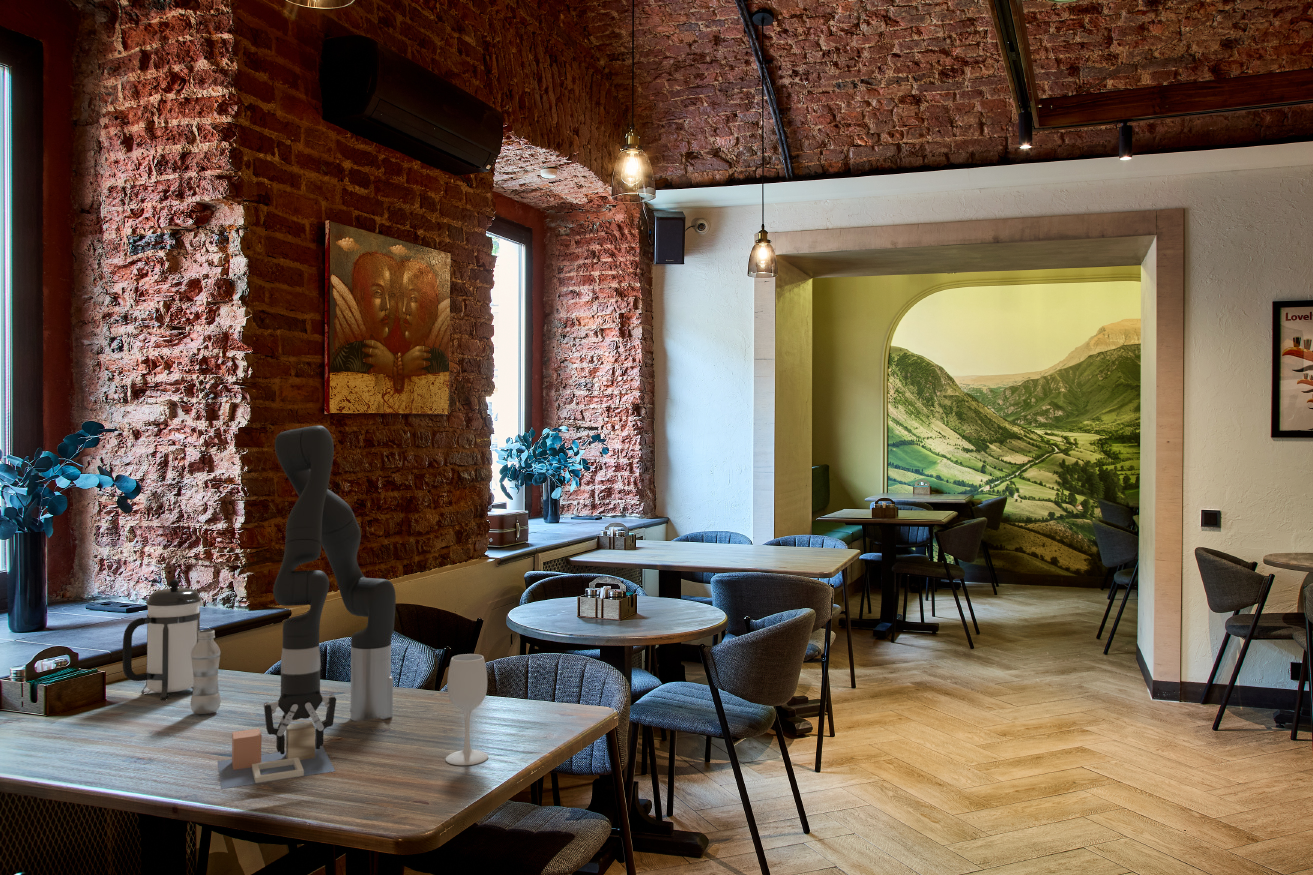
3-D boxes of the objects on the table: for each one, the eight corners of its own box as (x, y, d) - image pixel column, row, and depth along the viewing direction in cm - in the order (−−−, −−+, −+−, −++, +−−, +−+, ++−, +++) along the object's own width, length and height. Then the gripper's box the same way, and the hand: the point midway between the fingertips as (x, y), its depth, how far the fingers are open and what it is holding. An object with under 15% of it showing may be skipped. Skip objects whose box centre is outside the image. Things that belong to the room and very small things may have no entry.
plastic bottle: (208, 717, 216) (209, 634, 217) (183, 716, 218) (184, 632, 218) (226, 710, 223) (227, 629, 223) (202, 708, 224) (203, 627, 224)
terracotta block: (259, 758, 183) (259, 728, 183) (261, 765, 179) (261, 735, 179) (231, 762, 181) (232, 731, 181) (233, 769, 176) (233, 738, 176)
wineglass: (467, 768, 182) (468, 663, 182) (436, 760, 186) (437, 658, 187) (496, 756, 189) (497, 655, 189) (466, 749, 194) (467, 651, 194)
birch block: (311, 750, 188) (311, 721, 188) (314, 757, 183) (315, 728, 184) (285, 754, 185) (285, 725, 186) (288, 761, 181) (288, 731, 181)
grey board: (322, 753, 191) (322, 741, 191) (335, 778, 176) (335, 765, 176) (217, 768, 181) (217, 756, 181) (221, 796, 166) (221, 783, 166)
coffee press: (151, 686, 245) (152, 576, 246) (213, 685, 247) (214, 575, 248) (120, 704, 228) (122, 585, 229) (187, 702, 230) (188, 584, 230)
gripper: (334, 661, 191) (334, 740, 191) (261, 668, 185) (260, 750, 184) (340, 668, 185) (339, 750, 185) (264, 676, 178) (263, 761, 178)
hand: (299, 750), depth 184 cm, fingers open, 6 cm apart
